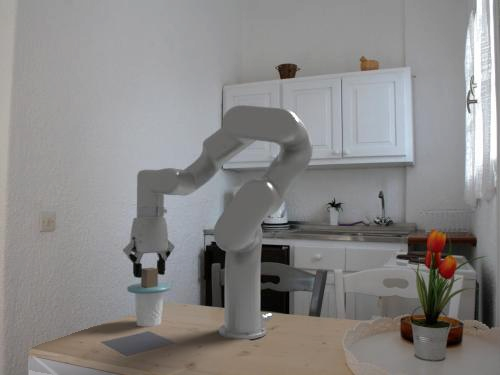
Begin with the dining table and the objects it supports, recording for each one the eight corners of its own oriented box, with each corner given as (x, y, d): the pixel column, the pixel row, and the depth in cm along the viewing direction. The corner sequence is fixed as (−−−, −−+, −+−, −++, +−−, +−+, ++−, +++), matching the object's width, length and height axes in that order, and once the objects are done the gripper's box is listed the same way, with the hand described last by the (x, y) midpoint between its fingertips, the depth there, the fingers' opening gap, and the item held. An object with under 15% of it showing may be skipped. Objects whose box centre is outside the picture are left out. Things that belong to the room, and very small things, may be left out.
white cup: (156, 329, 114) (156, 292, 114) (129, 327, 115) (129, 291, 116) (167, 321, 121) (167, 287, 122) (142, 320, 123) (142, 286, 124)
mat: (148, 333, 111) (148, 331, 111) (176, 344, 101) (176, 342, 101) (101, 344, 102) (101, 341, 102) (126, 358, 92) (126, 355, 92)
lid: (157, 283, 127) (157, 264, 128) (178, 289, 119) (179, 268, 119) (119, 289, 119) (120, 268, 119) (140, 295, 110) (140, 273, 111)
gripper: (169, 212, 129) (168, 271, 128) (115, 213, 117) (114, 277, 116) (183, 212, 123) (182, 274, 122) (128, 213, 111) (127, 281, 110)
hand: (149, 275), depth 119 cm, fingers open, 6 cm apart
